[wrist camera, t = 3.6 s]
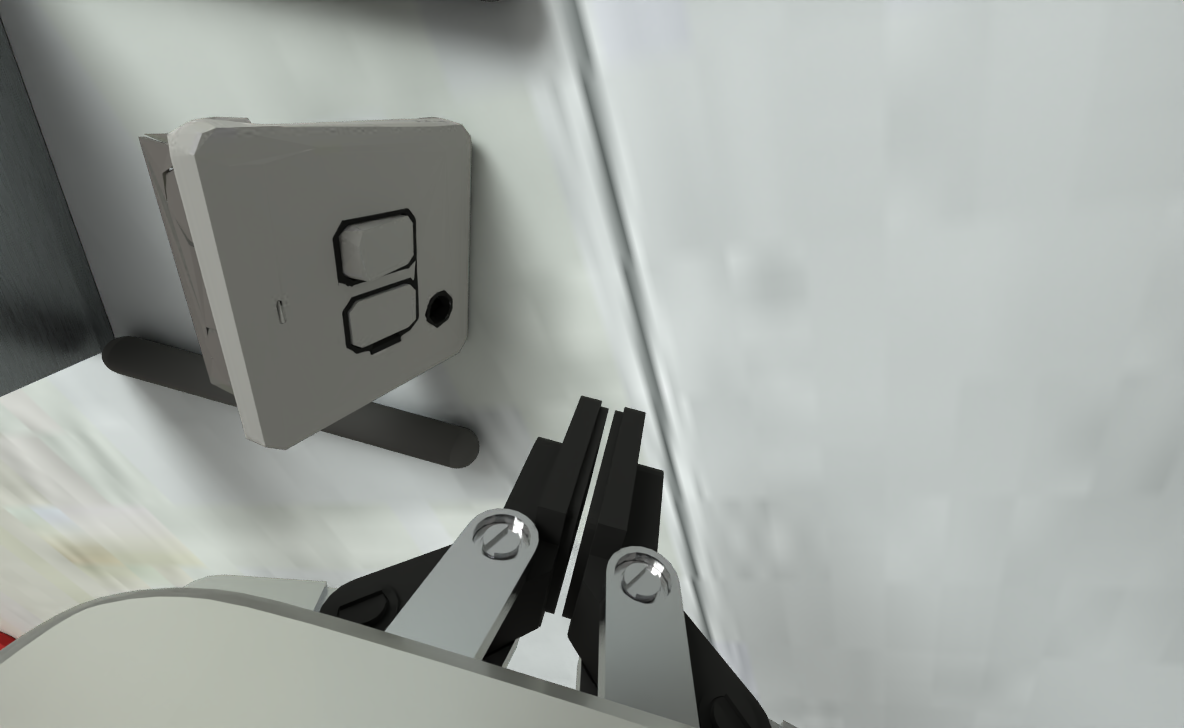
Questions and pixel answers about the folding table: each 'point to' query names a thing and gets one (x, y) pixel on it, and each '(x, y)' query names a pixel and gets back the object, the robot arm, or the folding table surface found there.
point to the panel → (38, 253)
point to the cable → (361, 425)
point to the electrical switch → (317, 258)
